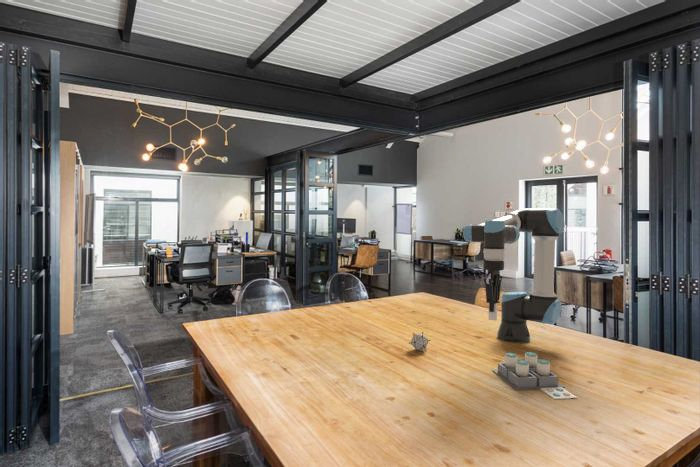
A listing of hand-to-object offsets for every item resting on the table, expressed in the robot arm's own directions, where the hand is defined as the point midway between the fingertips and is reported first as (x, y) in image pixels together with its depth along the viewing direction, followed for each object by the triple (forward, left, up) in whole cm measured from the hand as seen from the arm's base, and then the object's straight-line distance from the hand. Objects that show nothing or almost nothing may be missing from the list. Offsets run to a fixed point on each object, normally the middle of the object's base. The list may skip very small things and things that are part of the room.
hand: (492, 319), depth 157 cm
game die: (+22, -26, -20) cm, 40 cm away
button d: (-13, +6, -17) cm, 22 cm away
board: (-9, +10, -20) cm, 24 cm away
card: (-13, +23, -20) cm, 33 cm away
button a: (-5, +14, -17) cm, 22 cm away
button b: (-5, +6, -17) cm, 18 cm away
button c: (-13, +14, -17) cm, 25 cm away
